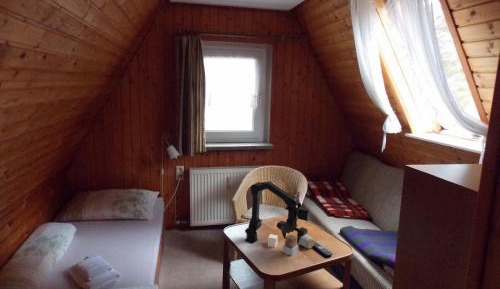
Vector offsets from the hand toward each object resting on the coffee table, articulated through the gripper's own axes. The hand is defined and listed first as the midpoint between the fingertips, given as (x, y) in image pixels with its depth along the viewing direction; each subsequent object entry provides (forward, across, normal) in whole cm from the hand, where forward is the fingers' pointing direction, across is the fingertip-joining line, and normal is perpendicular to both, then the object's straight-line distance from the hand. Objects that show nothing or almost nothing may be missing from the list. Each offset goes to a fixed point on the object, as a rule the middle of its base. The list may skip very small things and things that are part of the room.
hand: (291, 240), depth 205 cm
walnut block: (+3, 0, 0) cm, 3 cm away
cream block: (+7, -13, 0) cm, 15 cm away
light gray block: (+7, 0, 0) cm, 7 cm away
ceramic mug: (+8, +4, +14) cm, 16 cm away
